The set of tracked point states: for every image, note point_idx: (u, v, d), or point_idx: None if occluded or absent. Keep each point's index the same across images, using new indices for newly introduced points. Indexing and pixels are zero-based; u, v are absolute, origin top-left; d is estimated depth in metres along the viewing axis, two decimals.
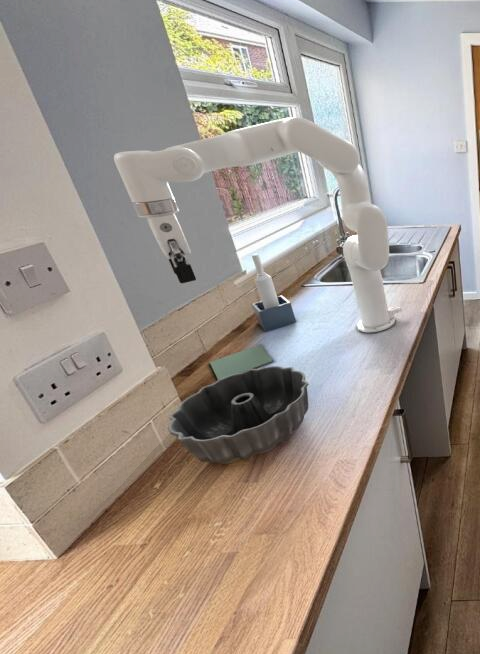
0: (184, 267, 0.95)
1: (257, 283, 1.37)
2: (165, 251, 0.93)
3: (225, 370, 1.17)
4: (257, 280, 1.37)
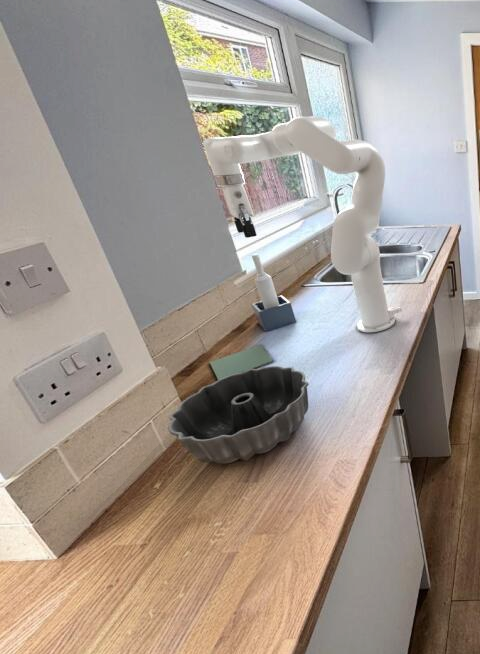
0: (249, 225, 1.27)
1: (257, 283, 1.37)
2: (236, 212, 1.25)
3: (225, 370, 1.17)
4: (257, 280, 1.37)
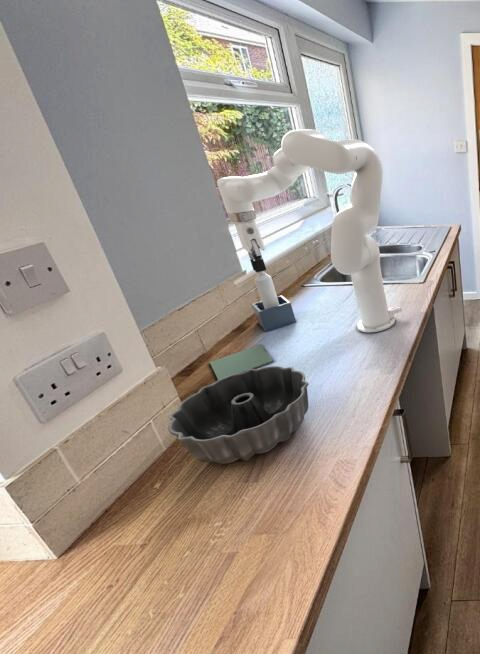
0: (259, 261, 1.35)
1: (257, 283, 1.37)
2: (249, 247, 1.30)
3: (225, 370, 1.17)
4: (257, 280, 1.37)
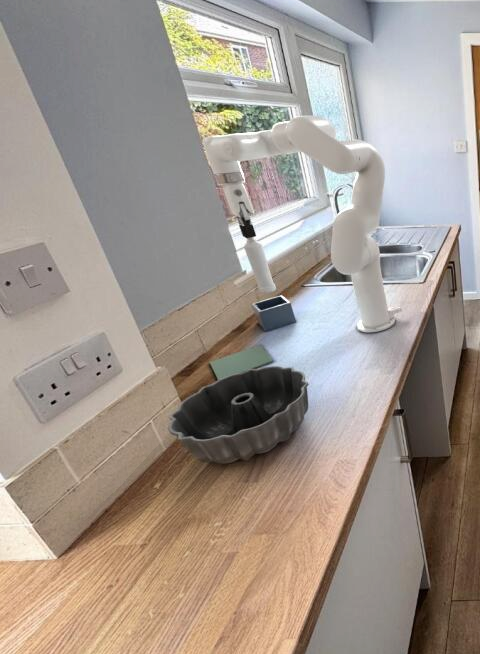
0: (248, 226, 1.30)
1: (246, 250, 1.32)
2: (237, 211, 1.25)
3: (225, 370, 1.17)
4: (247, 247, 1.32)
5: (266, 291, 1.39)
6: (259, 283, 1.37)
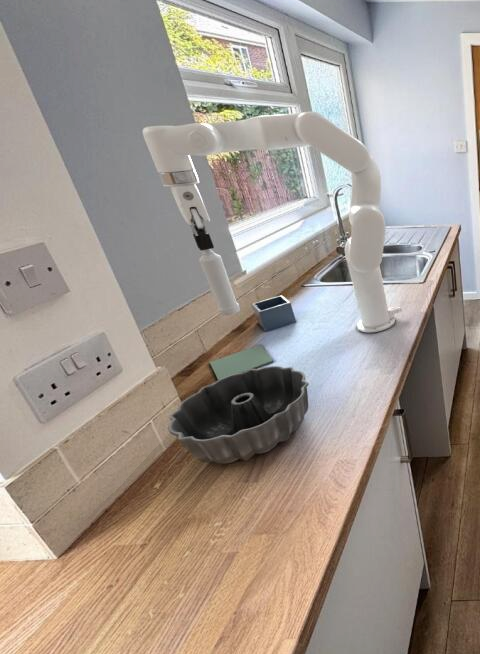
0: (204, 236, 1.07)
1: (202, 264, 1.10)
2: (187, 218, 1.02)
3: (225, 370, 1.17)
4: (202, 260, 1.10)
5: (227, 313, 1.16)
6: (219, 303, 1.15)
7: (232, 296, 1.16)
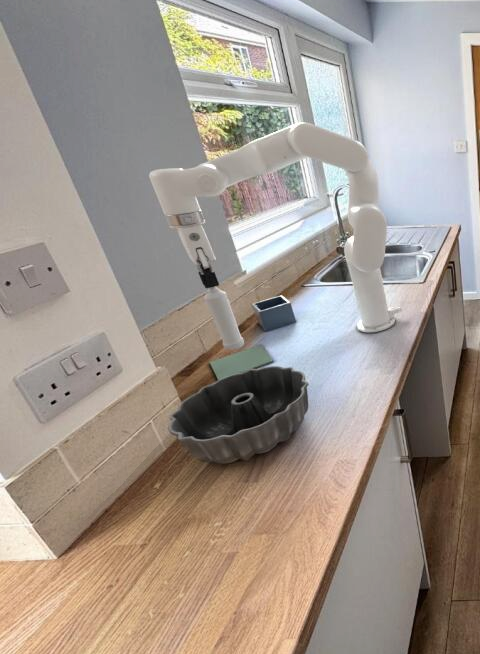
0: (209, 274, 1.08)
1: (207, 302, 1.11)
2: (193, 258, 1.03)
3: (225, 370, 1.17)
4: (207, 298, 1.10)
5: (232, 348, 1.17)
6: (223, 339, 1.16)
7: (237, 331, 1.17)
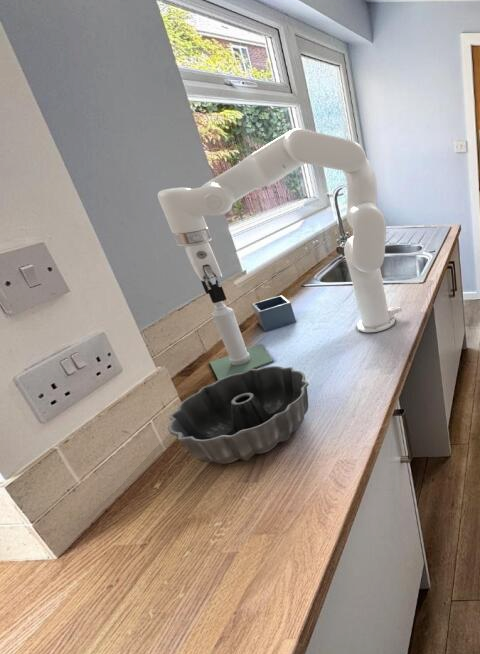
0: (216, 289, 1.07)
1: (215, 319, 1.13)
2: (200, 275, 1.05)
3: (225, 370, 1.17)
4: (215, 315, 1.13)
5: (238, 363, 1.19)
6: (230, 354, 1.18)
7: (243, 347, 1.20)
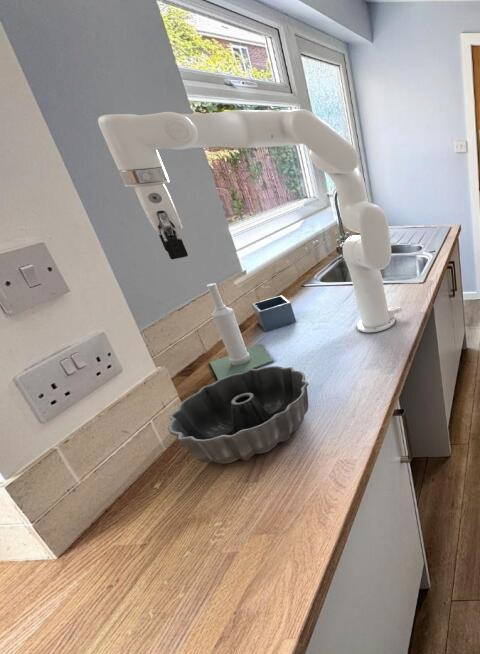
0: (175, 242, 0.89)
1: (214, 319, 1.13)
2: (154, 224, 0.86)
3: (225, 370, 1.17)
4: (215, 315, 1.13)
5: (238, 363, 1.19)
6: (230, 354, 1.18)
7: (243, 347, 1.20)
